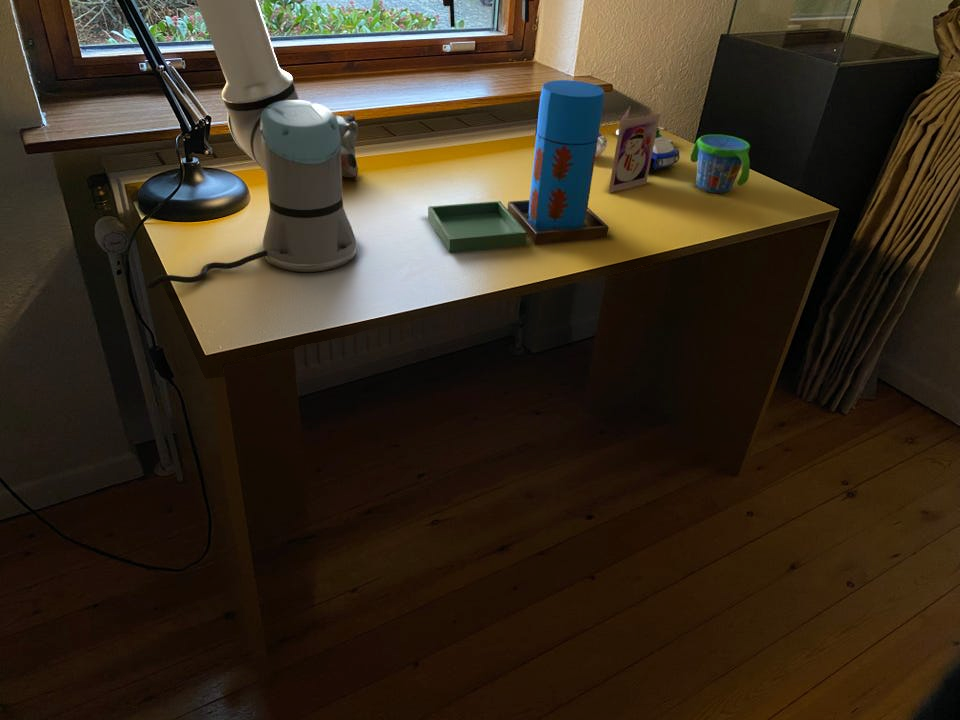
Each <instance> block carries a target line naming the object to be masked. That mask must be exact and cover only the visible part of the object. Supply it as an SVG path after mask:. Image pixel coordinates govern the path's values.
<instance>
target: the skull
mask: <svg viewBox="0 0 960 720" xmlns="http://www.w3.org/2000/svg"><path fill="white" fill-rule="evenodd" d="M607 145H608V138H606V136H604V135H603V134H602V133H601V132H600V131H599V135H598V142H597V148H596V155H595V158H596V157H599V156H600V155H602V154H603V153H604V152H605V150H606V148H607Z"/></svg>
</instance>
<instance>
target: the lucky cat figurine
mask: <svg viewBox="0 0 960 720" xmlns="http://www.w3.org/2000/svg"><path fill="white" fill-rule="evenodd" d="M335 116H336V118H337V121H338V125H339V131H340V135H341V168H342V177H345V178H350V179H354V180H355V179H356V178H357V177H358V172H359V166H358V163H357V158H356V145H357V144H356V143H357V137H358V133H359V124H358V123H357V122H356V116H355V115H354V113H353V114H349V115H347V116H345V117H343V116H341V115H335Z"/></svg>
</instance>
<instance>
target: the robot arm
mask: <svg viewBox="0 0 960 720" xmlns="http://www.w3.org/2000/svg"><path fill="white" fill-rule="evenodd" d="M534 1H535V0H522V1H521V2H522V5H521V6H522V8H521V9H522V11H521V12H522V13H521V15H522V16H521V17H522V21H523V22H524V23H530V2H534ZM195 2H196V4H197V8H198V11H199V12H200V14H201V17H202V18H201V19H202V21H203V24H204V26H205V28H206V31H207V33H208V36H209V39H210V42H211V44H212V47H213V50H214V52H215V55H216V57H217V60H218V62H219V65H220V68H221V71H222V73H223V76H224V78H225V81H226V83H225V85H224V87H223V89H222V91H221V98H222V100H223V103H224V105H225V108H226V111H227V114H226V115H227V116H226V117H227V126H228V128H229V129H228V130H229V132H230V134H231V136H232V139H233V140H234V142H235V144H236V145H237V146H238V148H239V149H240V150H241V151H242V152H243V153H245V154H246V155H247V156H249V157H250V158H251V160H252V161H254V162H255V163H256V164H257V165H258V166H259V167H260V168H261V169H262V170H263V171H264V173H265V178H266V186H267V195H268V202H269V213H268V216H267V221H266V225H265V230H264V233H263V239H262V250H261V251H258V252H256V253H252V254H250V255H247V256H245V257H242V258H240V259H237V260H235V261H232V262H231V261H230V262H221V261H220V262H217V261H215V262H209V263H207V264H205V265H203V266H202V268H201V270H200V273H199V274H197V275H194V276H182V275H174V274H163V275H159V276H156V277H154V278H153V279H152V280H151V281H150V282H149V283H148V284H147V285H146V289H153V288H156V286H157V285H159V284H161V283H163V282H174V283H175V282H177V283H184V284H185V283H186V284H193V283H197V282H201V281H203V280H204V279H205V278H206V276H207V275H208V272H209V271H211V270H213V269H222V270H223V269H224V270H227V269H228V270H229V269H230V270H231V269H235V268H238V267H241V266H244V265H245V264H247V263H250V262H253V261H256V260H259V259H261V258H264V259H265V261H267V262H268V263H269V264H271V265H272V266H273V267H276V268H279V269H282V270H286V271H290V272H291V271H292V272H300V273H315V272H316V273H317V272H324V271H329V270H332V269H335V268H336V269H337V268H339V267H341V266H343V265H345V264H347V263H348V262H350V261H351V260H353V258H354V257H355V255H356V253H357V240H356V236H355V234H354V230H353V227H352V224H351V223H350V220H349V218H348V216H347V214H346V210H345V208H344V199H343V196H344V194H343V176H342V168H341V135H340V131H339V125H338V121H337V118H336V116H337V115H335V113H333V111H332V110H331V109H329V108H328V107H326V106H324V105H322V104H320V103H312V101H309V100H302V99H300V97H299V95H298V91H297V88H296V85H295V82H294V79H293V76H292V74H290V73H289V72H287V71H285V70H283V69H282V68H281V67H280V65H279V63H278V60H277V57H276V54H275V52H274V47H273V45H272V42H271V39H270V35H269V32H268V28H267V26H266V23H265V20H264V17H263V13H262V10H261V7H260V4H259V1H258V0H195ZM441 2H442V5H443V7H448V20H449V21H448V22H449V26H450V28H455V27H456V19H455V18H456V17H455V1H454V0H441ZM153 389H154V393H155V397H156V401H157V405H158V409H159V411H160V416H161V420H162V425H163V427H164V431H165V434H166V438H167V442H168V447H169V449H170V453H171V457H172V461H173V465H174V468H175V469H174V470H175V474H176V480H177V481H178V482H182V481H183V480H184V478H183V477H184V476H183V472H182V469H181V462H180V460H179V455H178V451H177V447H176V443H175V439H174V436H173V431H172V427H171V423H170V420H169V416H168V413H167V409H166V406H165V405H166V404H165V401H164V397H163V394H162V389H161V385H154V386H153Z"/></svg>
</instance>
